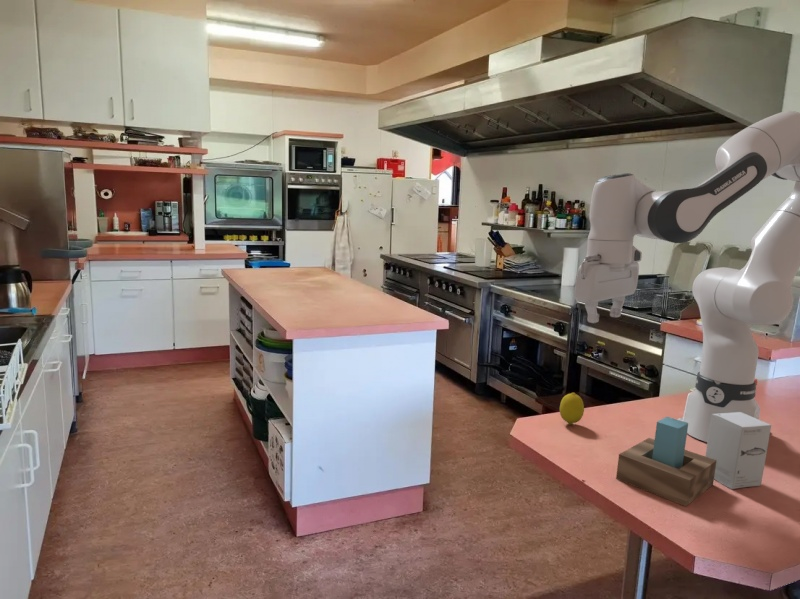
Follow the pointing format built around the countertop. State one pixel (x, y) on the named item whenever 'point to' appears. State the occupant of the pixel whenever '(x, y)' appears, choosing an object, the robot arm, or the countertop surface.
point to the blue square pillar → (670, 442)
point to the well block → (666, 473)
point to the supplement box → (738, 448)
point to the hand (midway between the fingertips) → (604, 319)
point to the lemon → (571, 408)
